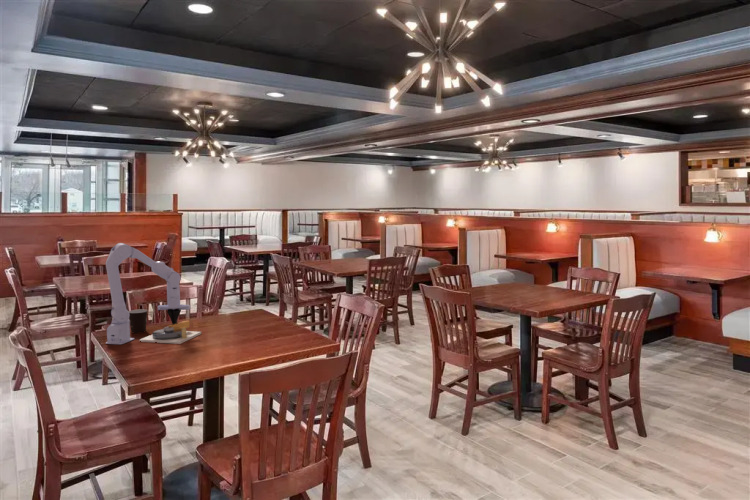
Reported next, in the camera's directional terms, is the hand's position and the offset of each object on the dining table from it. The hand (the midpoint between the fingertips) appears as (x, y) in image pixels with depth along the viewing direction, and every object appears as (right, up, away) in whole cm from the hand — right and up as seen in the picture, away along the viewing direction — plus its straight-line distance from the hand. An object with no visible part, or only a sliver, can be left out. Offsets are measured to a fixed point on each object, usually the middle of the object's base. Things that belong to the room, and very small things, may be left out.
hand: (174, 324), depth 251 cm
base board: (+1, -5, -7) cm, 8 cm away
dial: (+1, -3, -6) cm, 7 cm away
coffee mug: (-19, -4, +7) cm, 21 cm away
